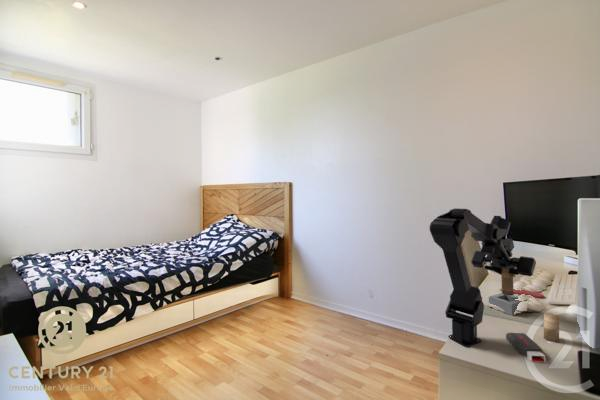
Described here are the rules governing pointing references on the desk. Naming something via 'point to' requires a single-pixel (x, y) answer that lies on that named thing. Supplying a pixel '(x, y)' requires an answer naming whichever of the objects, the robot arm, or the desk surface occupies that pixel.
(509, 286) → the tall peg
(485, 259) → the robot arm
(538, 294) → the red screwdriver
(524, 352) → the usb drive
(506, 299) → the grey slotted box
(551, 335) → the short peg
